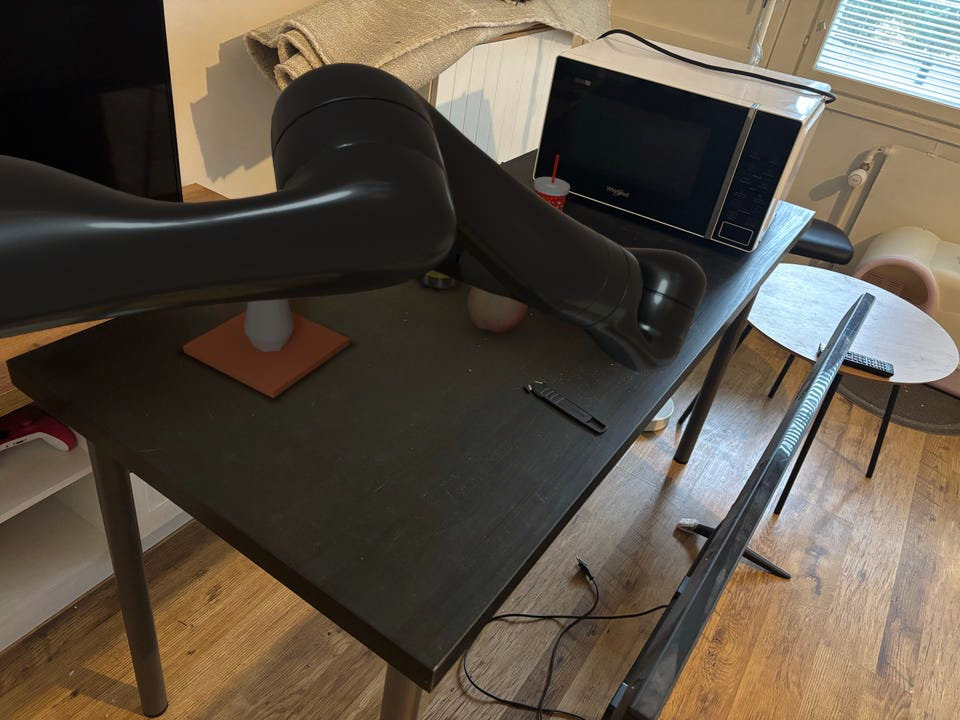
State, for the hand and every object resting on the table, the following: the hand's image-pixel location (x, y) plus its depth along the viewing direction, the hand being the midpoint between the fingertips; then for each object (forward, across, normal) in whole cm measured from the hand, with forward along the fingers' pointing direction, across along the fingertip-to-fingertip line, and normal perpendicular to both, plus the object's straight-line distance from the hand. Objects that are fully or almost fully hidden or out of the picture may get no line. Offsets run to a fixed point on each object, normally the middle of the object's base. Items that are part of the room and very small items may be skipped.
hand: (345, 194), depth 74 cm
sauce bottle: (+4, -29, +24) cm, 38 cm away
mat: (+11, 0, +24) cm, 26 cm away
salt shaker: (+11, 0, +23) cm, 26 cm away
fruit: (-8, -23, +24) cm, 34 cm away
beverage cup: (0, -56, +24) cm, 61 cm away
